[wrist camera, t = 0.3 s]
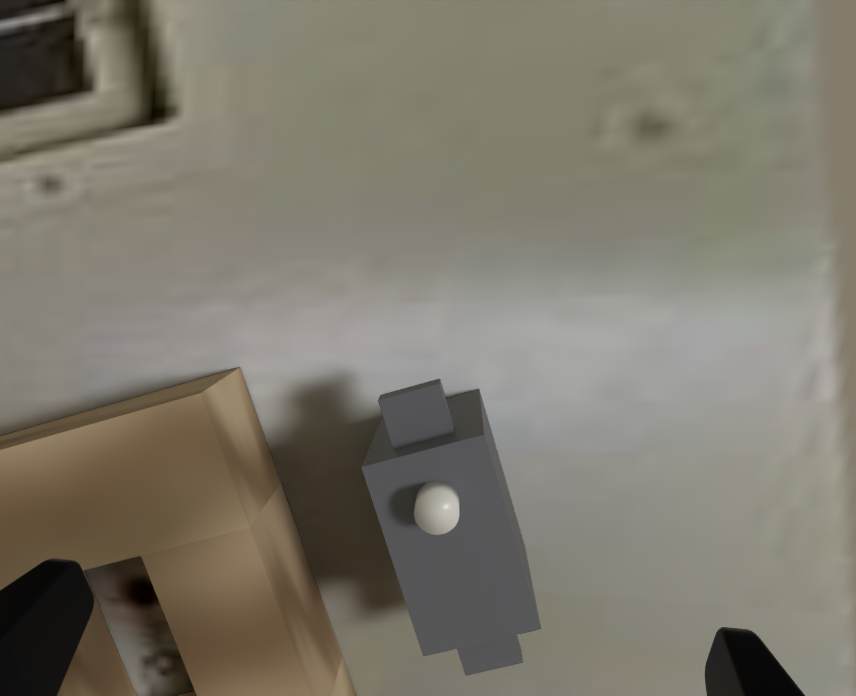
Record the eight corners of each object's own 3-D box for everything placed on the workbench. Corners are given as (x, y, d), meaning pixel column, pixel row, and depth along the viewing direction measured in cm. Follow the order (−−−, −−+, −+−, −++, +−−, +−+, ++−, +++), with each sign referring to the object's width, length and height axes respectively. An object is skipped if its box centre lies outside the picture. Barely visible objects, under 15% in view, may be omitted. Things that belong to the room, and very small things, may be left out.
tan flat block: (377, 754, 25) (363, 838, 22) (96, 815, 27) (42, 903, 23) (240, 367, 23) (200, 392, 19) (-65, 454, 24) (-153, 493, 20)
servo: (535, 581, 24) (558, 693, 18) (442, 603, 24) (436, 720, 18) (467, 347, 22) (469, 389, 17) (369, 374, 23) (339, 425, 17)
